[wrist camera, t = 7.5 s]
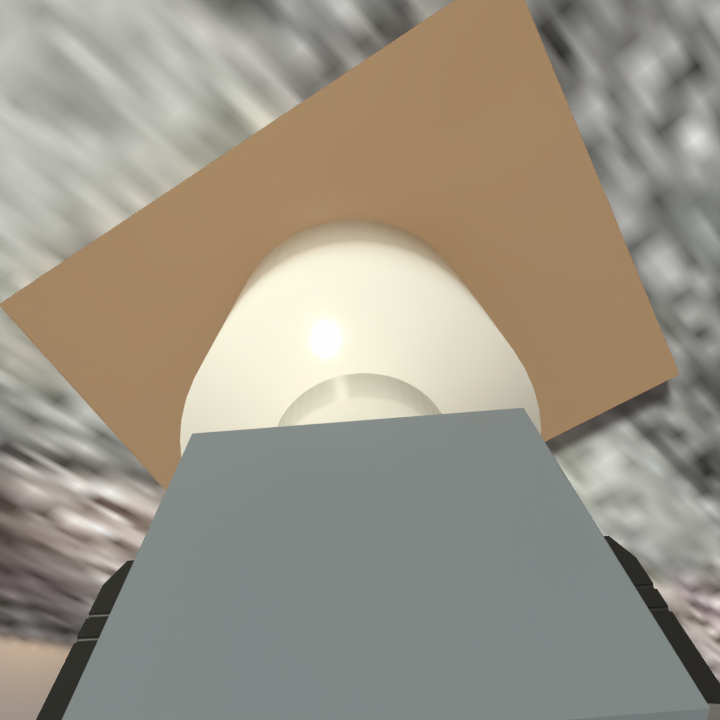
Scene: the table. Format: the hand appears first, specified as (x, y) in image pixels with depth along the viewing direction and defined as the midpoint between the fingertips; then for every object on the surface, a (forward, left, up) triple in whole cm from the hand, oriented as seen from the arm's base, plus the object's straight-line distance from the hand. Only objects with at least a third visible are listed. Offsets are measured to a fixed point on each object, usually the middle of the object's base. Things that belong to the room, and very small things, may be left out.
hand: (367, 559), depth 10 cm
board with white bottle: (0, 0, -11) cm, 11 cm away
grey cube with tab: (0, 0, 0) cm, 0 cm away
